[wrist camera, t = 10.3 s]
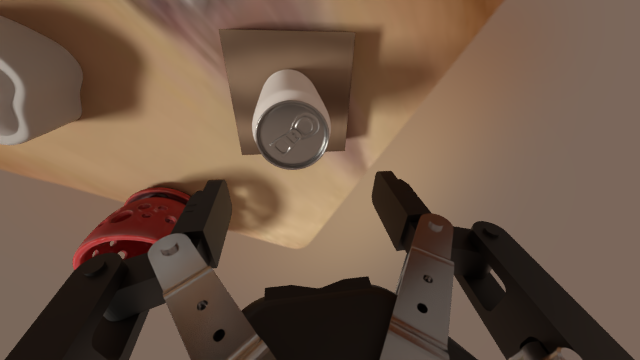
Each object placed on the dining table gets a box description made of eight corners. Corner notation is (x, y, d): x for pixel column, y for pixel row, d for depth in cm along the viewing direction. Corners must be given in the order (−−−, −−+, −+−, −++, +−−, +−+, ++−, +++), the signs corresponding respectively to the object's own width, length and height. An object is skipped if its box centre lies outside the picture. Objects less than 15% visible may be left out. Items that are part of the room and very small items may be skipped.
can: (327, 100, 28) (351, 140, 18) (288, 134, 30) (291, 187, 20) (290, 54, 25) (295, 72, 15) (249, 95, 26) (229, 136, 17)
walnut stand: (226, 29, 26) (218, 29, 23) (346, 31, 28) (355, 32, 24) (246, 142, 34) (242, 155, 30) (339, 139, 35) (344, 150, 32)
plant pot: (174, 247, 43) (141, 312, 33) (107, 202, 36) (41, 267, 26) (230, 218, 41) (213, 278, 31) (171, 164, 34) (126, 219, 24)
